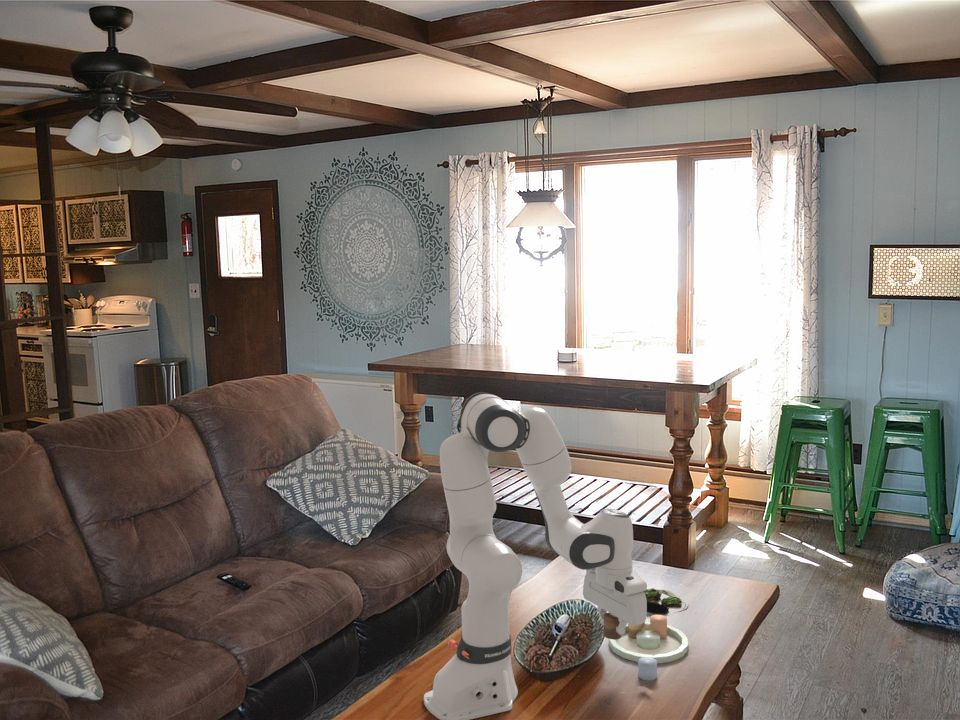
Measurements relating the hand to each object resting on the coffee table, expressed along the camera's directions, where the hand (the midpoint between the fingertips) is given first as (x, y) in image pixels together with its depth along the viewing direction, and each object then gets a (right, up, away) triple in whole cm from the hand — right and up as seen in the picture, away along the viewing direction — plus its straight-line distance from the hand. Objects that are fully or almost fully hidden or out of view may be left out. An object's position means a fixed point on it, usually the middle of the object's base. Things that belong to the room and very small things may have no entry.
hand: (612, 628), depth 208 cm
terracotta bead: (+15, -7, +16) cm, 23 cm away
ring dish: (+11, -9, +12) cm, 19 cm away
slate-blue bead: (+8, -11, -4) cm, 14 cm away
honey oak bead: (+9, -7, +17) cm, 21 cm away
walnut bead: (0, -2, 0) cm, 2 cm away
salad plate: (+18, -6, +37) cm, 42 cm away
